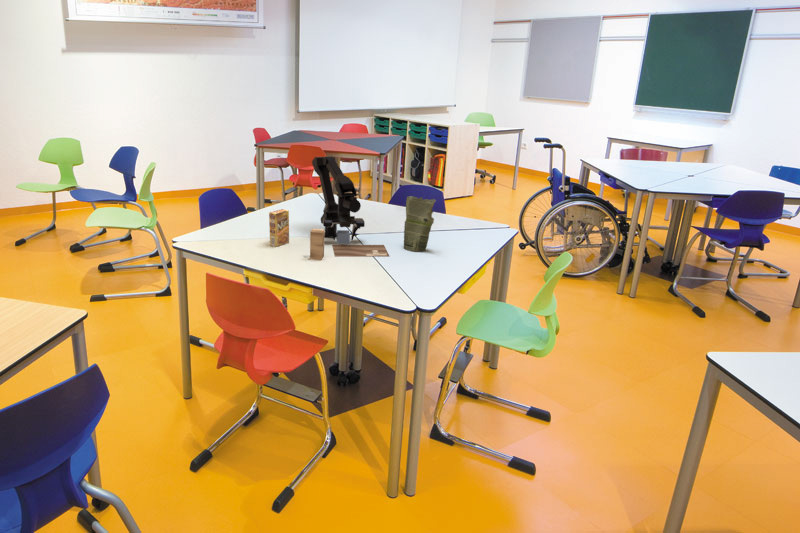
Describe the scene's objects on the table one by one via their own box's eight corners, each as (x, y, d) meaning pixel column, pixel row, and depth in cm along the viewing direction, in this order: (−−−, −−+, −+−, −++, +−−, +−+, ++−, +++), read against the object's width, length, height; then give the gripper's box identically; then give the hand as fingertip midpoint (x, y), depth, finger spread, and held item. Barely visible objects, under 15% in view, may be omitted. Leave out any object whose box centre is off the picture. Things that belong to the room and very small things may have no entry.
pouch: (400, 246, 262) (403, 194, 253) (423, 245, 266) (427, 193, 258) (409, 254, 252) (412, 199, 244) (433, 252, 256) (437, 199, 248)
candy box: (276, 247, 250) (276, 213, 245) (269, 245, 252) (268, 212, 247) (289, 242, 257) (289, 210, 252) (282, 241, 259) (282, 208, 254)
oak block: (312, 255, 242) (312, 228, 238) (324, 256, 242) (324, 229, 238) (310, 259, 238) (310, 231, 234) (321, 259, 238) (322, 232, 234)
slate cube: (336, 241, 264) (337, 230, 262) (348, 241, 265) (348, 230, 263) (337, 245, 259) (337, 233, 257) (349, 245, 260) (349, 233, 258)
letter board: (332, 245, 257) (332, 244, 256) (383, 246, 261) (383, 244, 261) (334, 257, 241) (334, 256, 241) (389, 257, 246) (389, 256, 245)
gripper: (324, 211, 247) (323, 245, 252) (366, 212, 251) (365, 245, 256) (323, 205, 257) (322, 238, 263) (363, 206, 261) (362, 238, 266)
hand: (343, 240), depth 261 cm, fingers open, 8 cm apart
